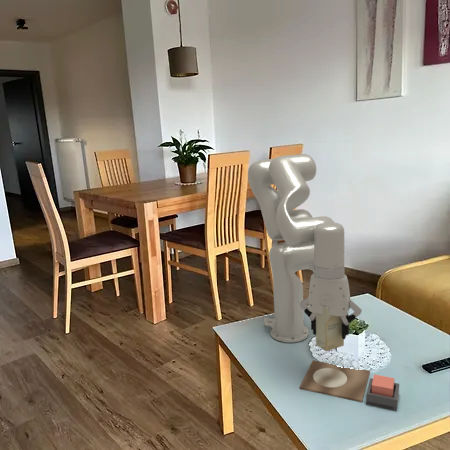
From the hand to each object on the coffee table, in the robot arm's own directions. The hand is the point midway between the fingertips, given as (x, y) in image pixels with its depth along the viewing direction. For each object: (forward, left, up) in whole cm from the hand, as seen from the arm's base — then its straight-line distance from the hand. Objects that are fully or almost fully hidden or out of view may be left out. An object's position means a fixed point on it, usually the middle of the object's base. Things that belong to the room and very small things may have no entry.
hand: (329, 334), depth 113 cm
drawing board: (+1, 0, -14) cm, 14 cm away
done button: (+14, -4, -11) cm, 18 cm away
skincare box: (0, 0, -3) cm, 3 cm away
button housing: (+14, -4, -14) cm, 20 cm away
